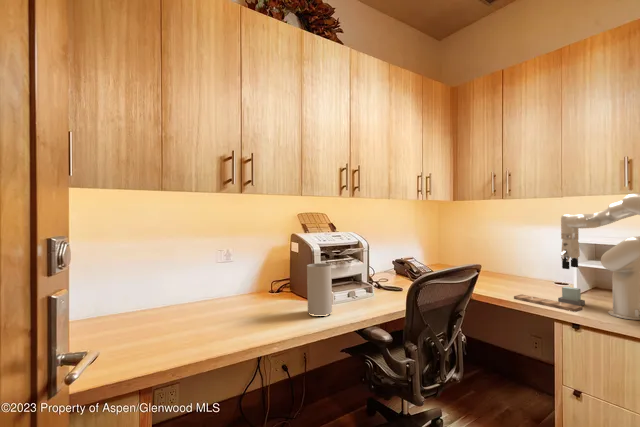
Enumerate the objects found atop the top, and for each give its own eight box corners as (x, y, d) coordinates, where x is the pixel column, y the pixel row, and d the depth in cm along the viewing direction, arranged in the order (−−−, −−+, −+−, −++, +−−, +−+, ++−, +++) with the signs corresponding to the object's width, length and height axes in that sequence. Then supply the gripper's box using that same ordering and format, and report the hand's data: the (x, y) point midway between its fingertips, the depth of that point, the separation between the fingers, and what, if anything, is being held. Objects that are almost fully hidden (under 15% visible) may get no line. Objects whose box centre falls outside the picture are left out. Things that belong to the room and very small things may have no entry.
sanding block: (585, 304, 172) (584, 289, 173) (579, 306, 170) (579, 290, 170) (563, 300, 181) (563, 285, 181) (558, 302, 178) (557, 287, 178)
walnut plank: (582, 309, 164) (582, 306, 164) (574, 311, 161) (574, 308, 161) (521, 296, 191) (521, 294, 191) (513, 298, 187) (513, 296, 187)
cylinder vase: (316, 308, 173) (315, 262, 173) (336, 312, 166) (335, 264, 166) (302, 315, 162) (302, 266, 162) (323, 319, 155) (322, 267, 156)
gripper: (570, 238, 168) (570, 270, 168) (585, 236, 177) (585, 267, 177) (554, 237, 175) (554, 268, 175) (569, 235, 183) (569, 265, 183)
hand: (570, 267), depth 176 cm, fingers open, 9 cm apart
